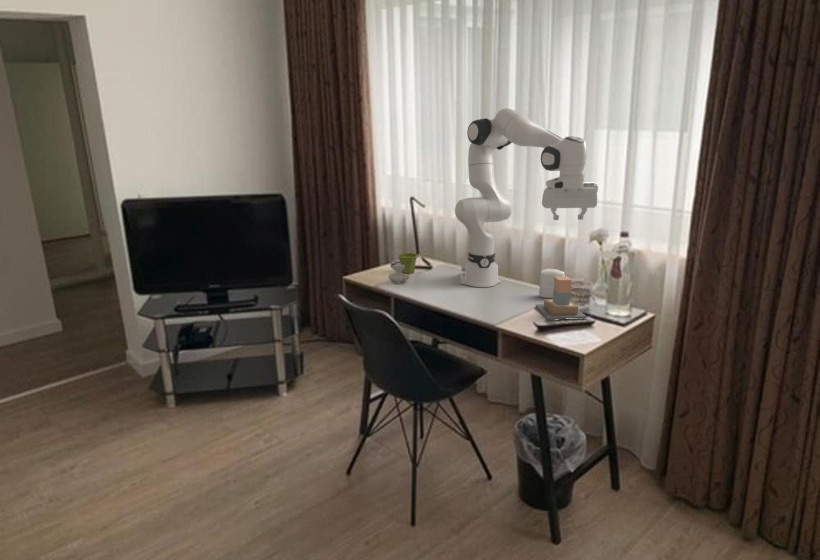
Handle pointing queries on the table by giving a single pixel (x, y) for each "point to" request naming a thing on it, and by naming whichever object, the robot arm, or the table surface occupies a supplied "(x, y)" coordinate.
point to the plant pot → (408, 262)
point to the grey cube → (561, 298)
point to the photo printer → (548, 282)
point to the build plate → (552, 317)
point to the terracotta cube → (562, 284)
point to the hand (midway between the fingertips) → (568, 219)
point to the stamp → (398, 274)
